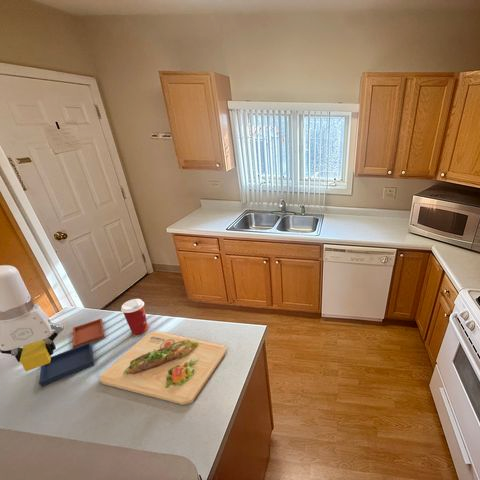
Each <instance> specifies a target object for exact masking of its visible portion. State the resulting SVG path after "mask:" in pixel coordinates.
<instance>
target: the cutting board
mask: <svg viewBox="0 0 480 480" xmlns="http://www.w3.org/2000/svg"><path fill="white" fill-rule="evenodd" d="M227 352H228V349H227V348H226V347H225V345H223V344H219V343H215V342H209V341H204V340H200V339H196V338H191V337H186V336H181V335H176V334H172V333H167V332H163V331H158V330H155V331H150V332H147V333H146V334H145V335H144V336H143V337H142V338H140V340H138V341H137V342H136V343H135V344H133V345H132V347H130V348H129V349H128V350H127V351H126V352H125V353H124V354H123V355H121V356H120V357H119V358H117V360H116V361H114V362H113V363H112V364H111V365H110V366H109V367H108V368H106V369H105V370H104V371H103V372H102V373H101V374H100V375H99V381H100V383H101V384H102V385H105V386H109V387H113V388H117V389H122V390H125V391H129V392H133V393H136V394H139V395H140V394H141V395H144V396H148V397H151V398H156V399H158V400H159V399H160V400H163V401H167V402H171V403H175V404H178V405H181V406H182V405H183V406H184V405H188V404H191V403H194V401H195V399H196V398H197V396H198V395H199V393H200V392H201V391H202V389H203V387H204V386H205V385H206V383H207V382H208V380H209V379H210V377H211V376H212V374H213V373H214V372H215V371H216V369H217V367H218V365H219V364H220V363H221V361H222V360H223V359H224V356H225V355H226V354H227Z"/></svg>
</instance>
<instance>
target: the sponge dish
mask: <svg viewBox="0 0 480 480" xmlns="http://www.w3.org/2000/svg"><path fill="white" fill-rule="evenodd" d="M105 338H106V336H105V328H104V323H103V319H102V318H99V319H98V318H97V319H95V320H92V321H89V322H87V323H82V324H80V325H77V326H74V327H72V347H73V349H74V348H76V347H79V346H82V345H85V344H87V343H90V342H91V344H93V343H95V342H97V341H101V340H103V339H105Z"/></svg>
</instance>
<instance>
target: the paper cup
mask: <svg viewBox="0 0 480 480" xmlns="http://www.w3.org/2000/svg"><path fill="white" fill-rule="evenodd" d="M120 311H121V312H122V313H123V316H124V318H125V320H126V323H127V325H128V327H129V329H130V332H131V334H132V335H133V336H141V335H143V334H145V333H146V332H147V331H148V330H149V325H148V319H147V315H146V310H145V302H144V301H143V300H142V298H141V299H140V298H132V299H129V300H127V301H125V302H123V304H122V305H121V308H120Z"/></svg>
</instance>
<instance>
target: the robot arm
mask: <svg viewBox="0 0 480 480" xmlns="http://www.w3.org/2000/svg"><path fill="white" fill-rule="evenodd" d="M21 275H22V274H21V273H20V271H19V270H18V268H17V267H15V266H14V265H9V264H3V265H0V353H2V354H5V355H11V356H12V357H14V358H15V359H16V361H17V362H18V363H21V362H20V357H21V354H22V350H23V346H25V345H28V344H31V343H34V342H37V341H41V340H43V341H44V342H45V343H46V344H45V346H46V348H47V350H48V352H49V354H50V355H51V356H53V355H54V351H55V350H56V349H57V347H56V344H55V342H54V341H55V339H57V337H58V335H60V333H62V332H63V331H64V329H65V325H62V324H59V323H55V322H52V321H51V320H50V318H49V316H48V315H47V313H46V312H45V310H43V308H42V307H41V306H40V305H39V304H37V303H34V301H33V298H32V296H31V294H30V292H29V290H28V288H27V286H26V284H25V282H24V280H23V277H22V276H21ZM53 330H54V331H53Z"/></svg>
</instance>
